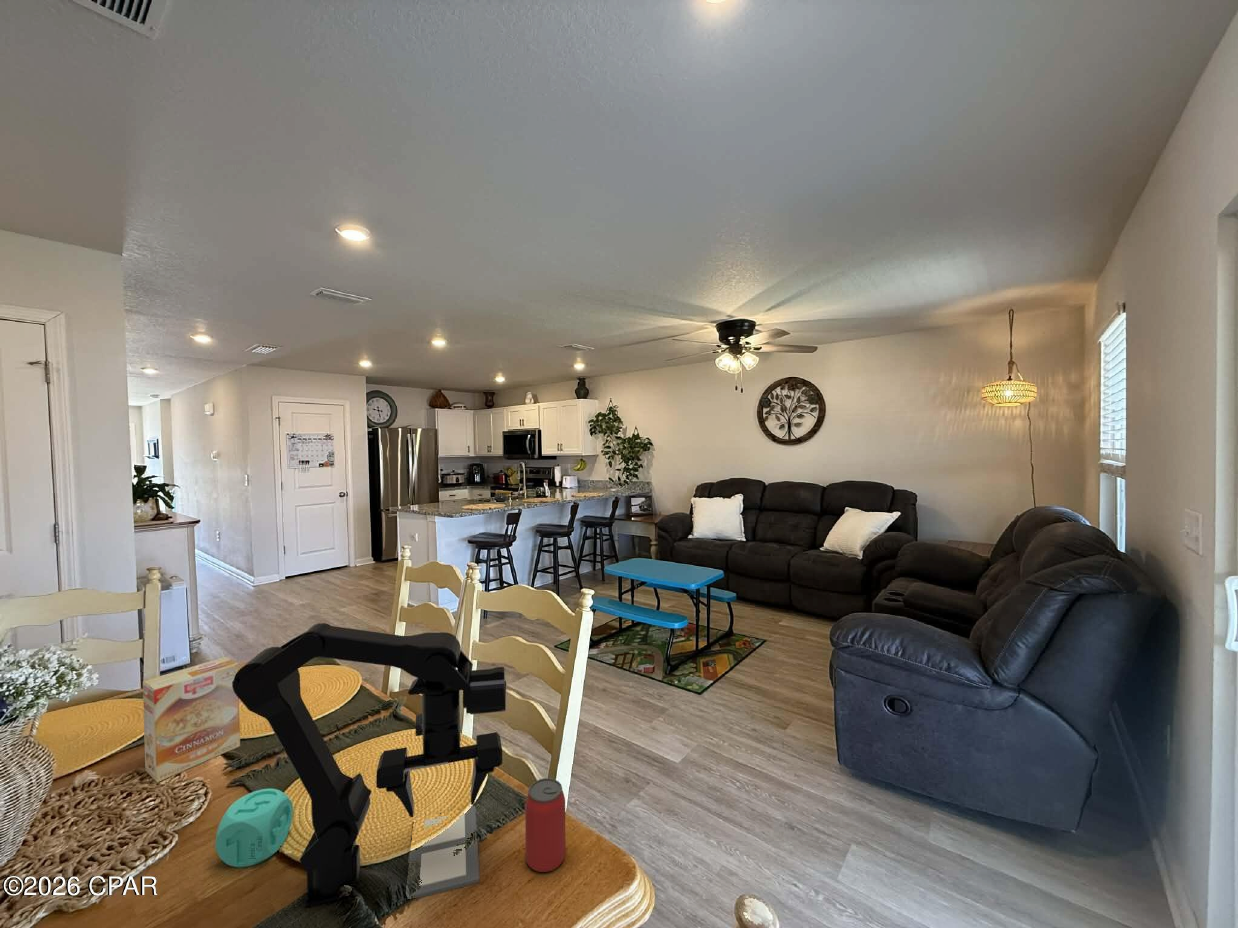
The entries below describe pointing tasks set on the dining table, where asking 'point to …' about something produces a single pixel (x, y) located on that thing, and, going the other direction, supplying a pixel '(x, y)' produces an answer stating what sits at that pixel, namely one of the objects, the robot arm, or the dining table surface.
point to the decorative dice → (254, 827)
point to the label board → (448, 857)
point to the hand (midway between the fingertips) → (442, 808)
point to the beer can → (545, 825)
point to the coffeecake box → (190, 717)
